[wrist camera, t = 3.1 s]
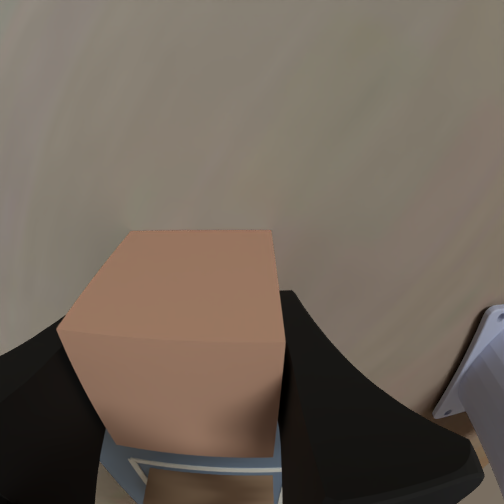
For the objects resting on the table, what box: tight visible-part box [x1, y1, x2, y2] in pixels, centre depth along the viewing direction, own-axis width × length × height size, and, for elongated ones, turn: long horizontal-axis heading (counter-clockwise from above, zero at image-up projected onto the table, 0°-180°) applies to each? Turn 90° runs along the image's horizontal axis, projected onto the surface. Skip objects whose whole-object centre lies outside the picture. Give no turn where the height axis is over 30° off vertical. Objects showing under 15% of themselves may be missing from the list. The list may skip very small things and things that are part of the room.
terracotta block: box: [56, 230, 286, 458], centre depth 9 cm, size 4×4×5 cm
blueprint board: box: [100, 421, 282, 504], centre depth 18 cm, size 17×20×1 cm
